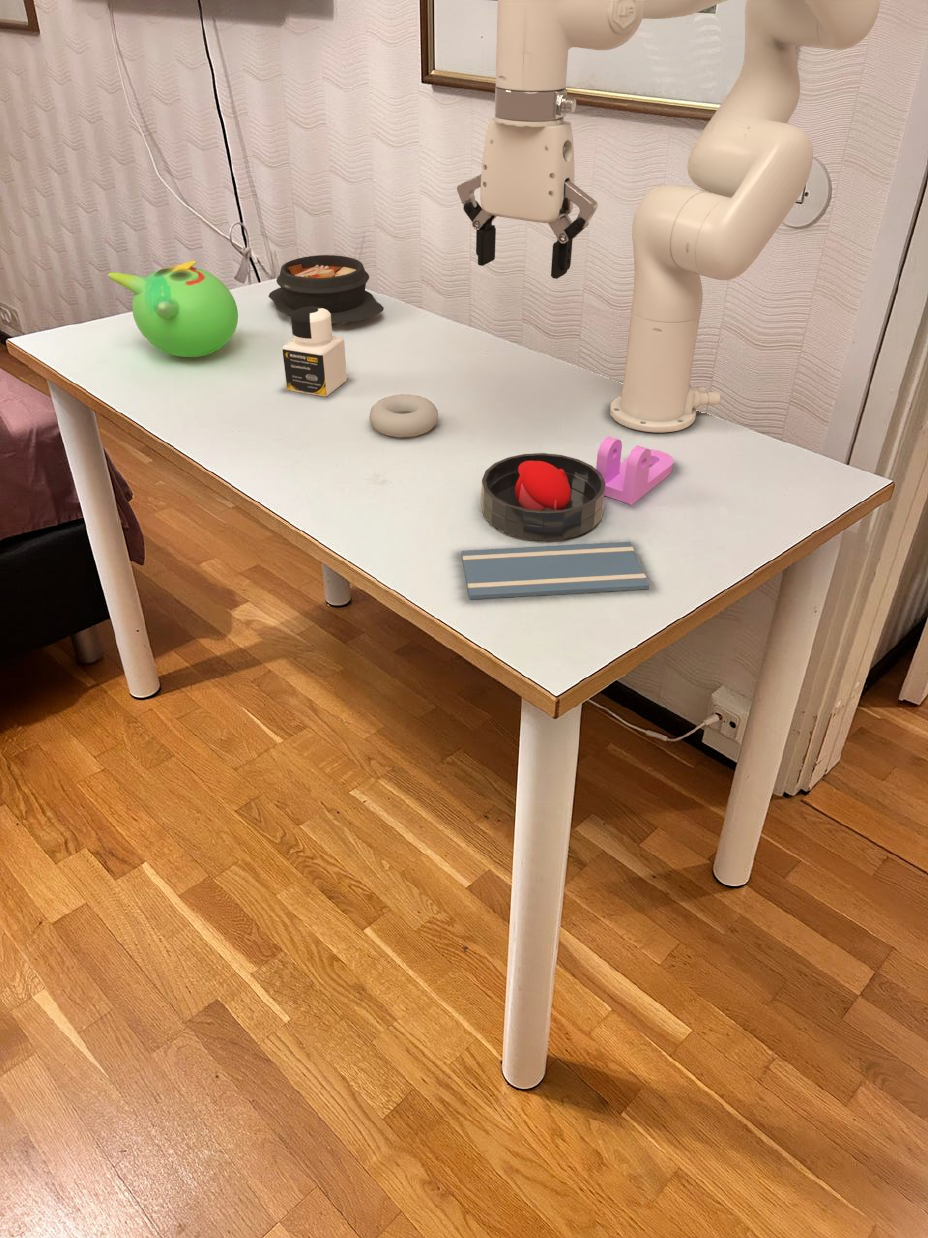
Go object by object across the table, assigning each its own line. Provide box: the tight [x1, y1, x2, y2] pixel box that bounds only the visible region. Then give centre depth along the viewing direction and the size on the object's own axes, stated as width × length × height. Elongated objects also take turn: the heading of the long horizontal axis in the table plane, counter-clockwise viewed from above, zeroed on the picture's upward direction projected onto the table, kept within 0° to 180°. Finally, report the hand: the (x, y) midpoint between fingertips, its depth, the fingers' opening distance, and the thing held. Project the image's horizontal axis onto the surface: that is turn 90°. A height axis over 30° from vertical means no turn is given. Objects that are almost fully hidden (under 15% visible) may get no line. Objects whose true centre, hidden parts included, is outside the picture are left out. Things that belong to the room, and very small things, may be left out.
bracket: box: [595, 436, 675, 506], centre depth 122 cm, size 13×6×7 cm, turn 142°
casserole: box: [268, 254, 385, 325], centre depth 173 cm, size 25×19×8 cm
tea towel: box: [461, 541, 650, 601], centre depth 106 cm, size 20×9×1 cm, turn 96°
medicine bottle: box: [281, 306, 348, 398], centre depth 145 cm, size 7×7×12 cm
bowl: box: [481, 452, 606, 542], centre depth 116 cm, size 15×15×4 cm
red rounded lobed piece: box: [515, 461, 571, 511], centre depth 115 cm, size 8×6×6 cm
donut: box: [368, 393, 439, 438], centre depth 136 cm, size 10×4×10 cm
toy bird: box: [107, 260, 239, 358], centre depth 155 cm, size 18×17×15 cm
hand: (522, 268), depth 111 cm, fingers open, 9 cm apart
